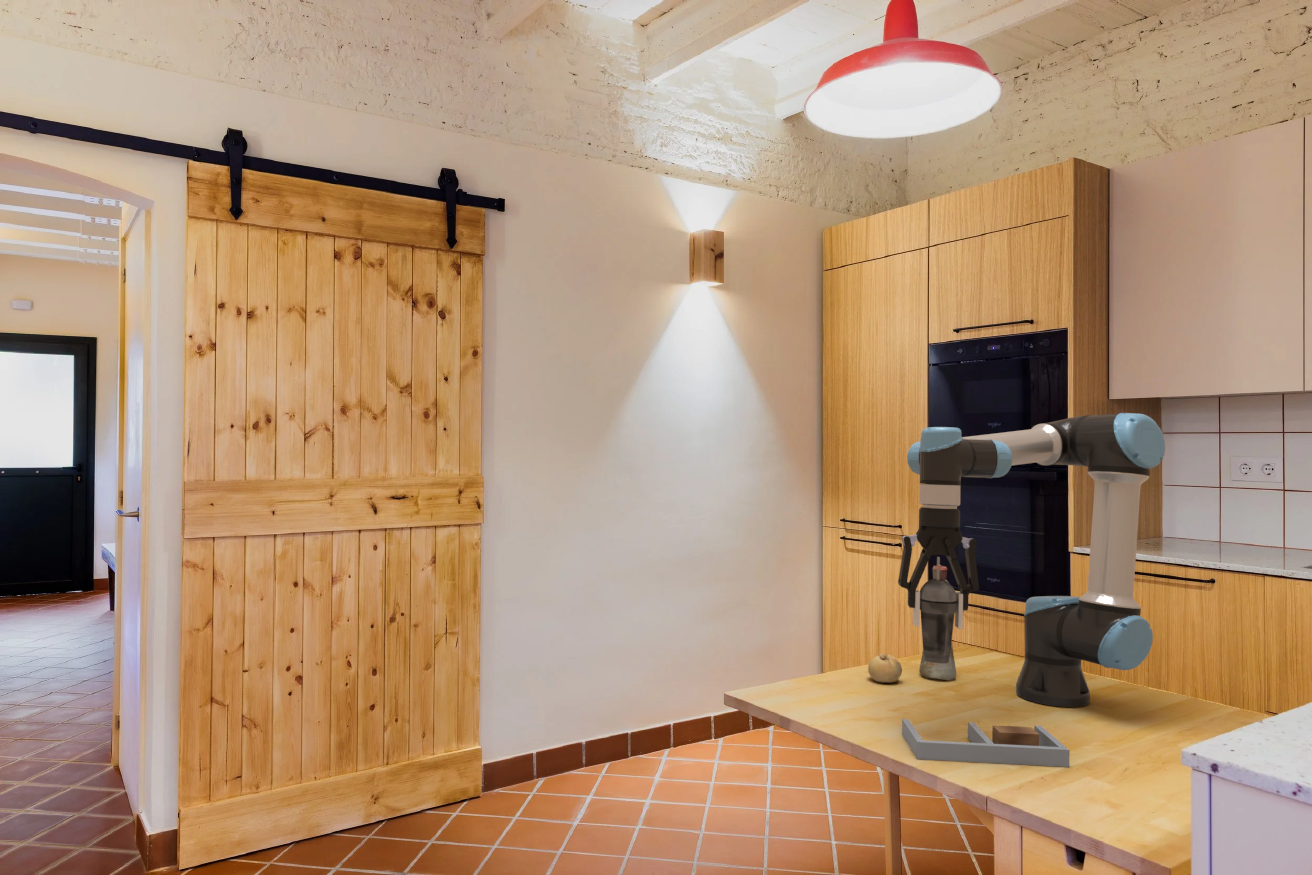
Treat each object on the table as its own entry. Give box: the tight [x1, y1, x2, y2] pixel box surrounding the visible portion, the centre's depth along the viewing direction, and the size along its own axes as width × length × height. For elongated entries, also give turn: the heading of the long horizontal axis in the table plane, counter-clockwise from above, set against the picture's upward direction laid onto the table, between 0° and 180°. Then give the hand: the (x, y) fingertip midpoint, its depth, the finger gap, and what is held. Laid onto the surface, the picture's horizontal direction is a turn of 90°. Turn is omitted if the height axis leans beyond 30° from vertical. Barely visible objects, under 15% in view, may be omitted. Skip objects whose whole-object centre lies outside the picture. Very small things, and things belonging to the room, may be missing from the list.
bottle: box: [919, 564, 957, 681], centre depth 199 cm, size 9×9×28 cm
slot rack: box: [901, 718, 1070, 768], centre depth 148 cm, size 26×13×3 cm, turn 85°
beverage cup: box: [919, 556, 958, 663], centre depth 154 cm, size 7×7×20 cm
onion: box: [867, 653, 903, 683], centre depth 194 cm, size 8×8×7 cm
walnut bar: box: [991, 724, 1039, 746], centre depth 148 cm, size 7×4×4 cm, turn 85°
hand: (937, 625), depth 154 cm, fingers closed on beverage cup, 7 cm apart
